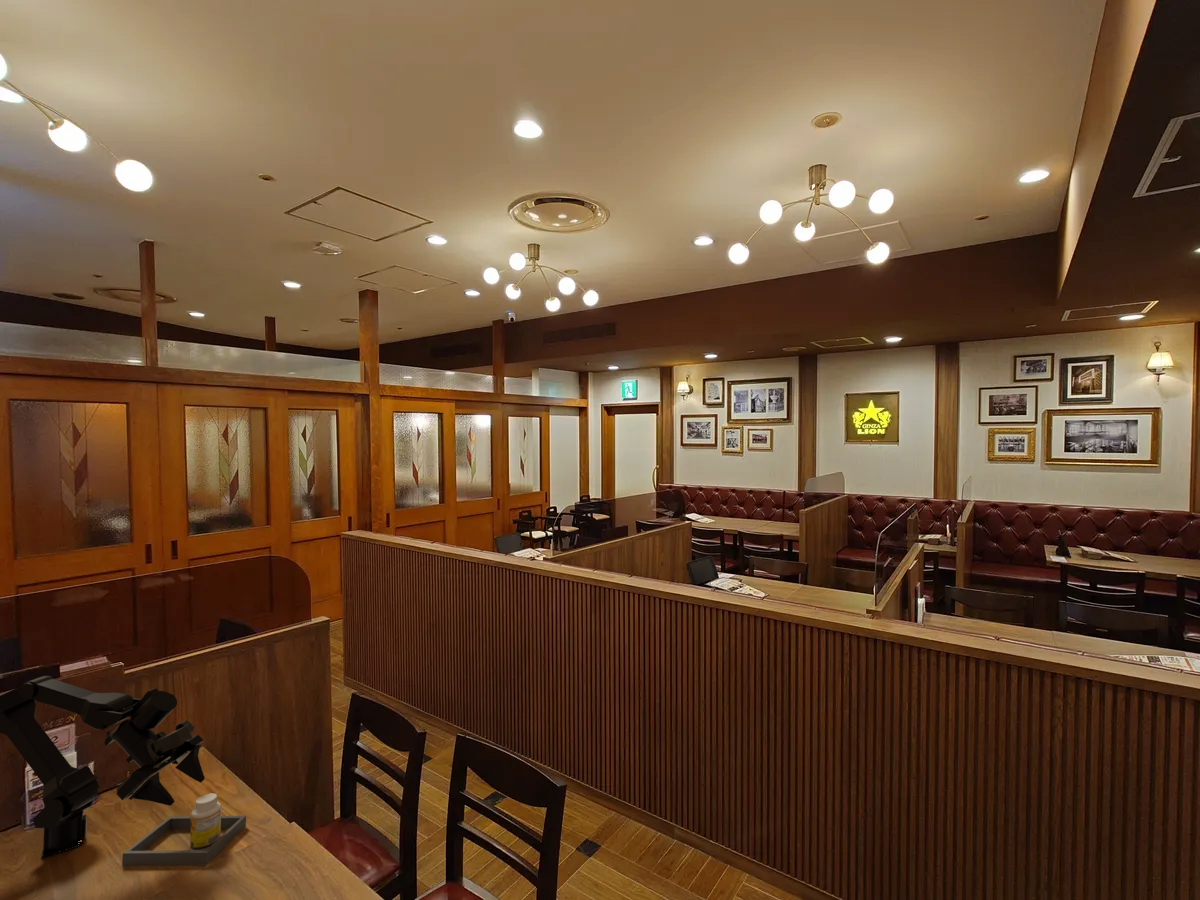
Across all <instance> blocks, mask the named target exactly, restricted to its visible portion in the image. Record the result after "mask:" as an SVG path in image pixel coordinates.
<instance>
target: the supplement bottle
mask: <svg viewBox="0 0 1200 900" xmlns="http://www.w3.org/2000/svg"><path fill="white" fill-rule="evenodd" d="M194 806H195V807H194V808H193V809H192V810H191V812H190V816H191V829H190V839H189V840H190V843H189V846H190V850H207V849H208V848H209V847H210V846H211V845H212V844H213V843H214V842H215V841H216V840H217V839H219V838H220V837H221V830H222V829H221V816H222V803H221V802H219V801H218V794H216V793H207V794H204V795H201V796H200V797H198V798H196V800H195V805H194Z"/></svg>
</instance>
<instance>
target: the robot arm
mask: <svg viewBox="0 0 1200 900" xmlns="http://www.w3.org/2000/svg"><path fill="white" fill-rule="evenodd" d="M37 702H38V703H42V704H44V705H45V704H46V705H48V706H51V707H54V708H56V709H60V710H64V711H66V712H69V713H73V714H77V716H79V717H80V719H81V721H82V722H83V723H84V724H86V725H87V726H89V727H91V728H93V729H95V730H97V731H103V730H106V729H108V728H111V727H112V726H114V725H116V724H118V723H119V725H118V726H117V727H114V728H112V729H110V730H108V731H107V732H105V734H106V736H105V739H104V744H103V745H104V746H108V745H110V744H112V743H114V742H116V744H117V745H119V746H120V748H121V749H122V750H124V752H125V753H126V754H127V755H128V757H127V758H126V759H125V761H126V762H127V763H128V764H130V763H132V762H135V763H136V765H138V767H139V768H138V769H136V770H134V771H132V772H130V774H129V775H128V777H126V779H124V780H123V782H121V784H119V786H118V787H117V788H116V796H118V797H119V799H121V801H122V802H124V801H126V799H127V798H128V800H130V801H132V800H134V799H135V800H140V801H141V800H143V801H148V802H153V803H156V804H161V805H166V806H172V805H173V804H174V803H175V802H176V801H175V799H174V798H173V796H172V795H171V794H170V792H169V791H168V790H167V789H166V788H165V787H164V785H163V784H162V783H161V780H160V771H162V770H163V769H165V768H166V767H168V766H169V765H172V764H173V765H176V766H175V769H177V770H178V771H180V772H181V773H183V774H184V775H186V776H188V777H189V778H191V779H193V780H194V781H197V782H199V783H203V782H204V781H205V778H206V777H205V774H204V772H203V768H202V766H201V762H200V758H199V754H200V750H201V748H202V744H203V742H204V741H205V739H203V737H201V736H200V734H192V733H194V732H195V726H194V725H193V723H191V722H190V721H189V720H184V721H182V722H180V723H179V724H177V725H176V726H175V730H174V731H172V732H170V733H168V734H167V733H166V732H165V731H159V732H158V733H156V731H155V730H154V728H156V727H158V726H159V725H160V724H161V723H162V722H163V720H165V719H166V718H167V717H168V715H170V714H171V713H172V712H173V710H174V709H175V708H176V707H177V705H178V700H177V697H176V696H175V695H174V694H173V693H170V692H169V691H168V692H167V691H165V690H159V689H157V687H154V688H152V689H149V690H148V691H146V692H145V694H144V695H143V697H142V698H137V697H135V698H134V697H133V696H131V695H130V694H127V693H121V692H103V693H102V692H94V691H93V690H90V689H86V688H82V687H79V686H76V685H74V684H70V683H67V682H64V681H61V680H57V679H55V678H54V677H53V676H51V675H42V676H40V677H37V678H34V679H31V680H28V681H26V682H24V684H21V685H20V686H18V687H15V688H13V689H11V690H8V691H5V692H2V693H0V734H3V735H6V736H7V739H9V740H10V741H11V743H12V745H13V746H14V748H15V749H16V750H17V751H18V753H20V755H21V757H22V758H23V759H24V760H25V761H26V764H27V765H28V766H29V768H30V769H31V770H32V771H33V773H34V774H35V775H36V777H37V778H38V779H39V781H40V782H41V783H42V785H43V791H42V799H41V800H42V802H43V804H44V807H43V808H42V809H41V810H39V812H38V813H37V814H36V815H35V816H34V817H33V818H32V821H33V825H34V827H35V829H43V840H42V841H43V842H42V850H41V851H42V852H41V855H40V857H41V858H46V857H50V856H52V854H53V855H55V854H54V853H56V854H59V853H60V852H59V851H62V852H64V851H63V850H66V849H69V848H72V847H75V846H78V845H80V844H82V845H83V841H82V842H78V841H80V840H82V839H83V840H84V839H85V838H86V836H87V823H88V821H87V819H88V818H87V817H88V816H87V814H84V810H86V809H88V808H90V807H92V805H93V803H94V800H95V798H96V797H97V796H98V792H99V789H100V784H99V782H98V779H99V777H98V776H96V774H94V773H93V772H92V770H91V768H90V766H88V765H84V766H82V767H81V768H76V767H74V766H72V765H71V764H70V763H69V761H68V760H67V759H66V757H65V756H64V755H63V753H62V752H61V751H60V749H59V748H58V747H57V746H56V744H55V743H54V741H53V740H52V739H51V738H50V736H49V735H48V734H47V732H46V731H45V730H44V728H43V727H42V726H41V725H40V723H39V722H38V720H37V719H36V712H37V711H36V709H37V704H36V703H37ZM128 718H129V719H128ZM120 722H121V723H120ZM78 843H80V844H78ZM78 847H79V846H78ZM75 848H76V847H75ZM72 849H73V848H72ZM69 850H70V849H69ZM66 851H67V850H66ZM58 852H59V853H58Z"/></svg>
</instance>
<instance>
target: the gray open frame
mask: <svg viewBox="0 0 1200 900" xmlns="http://www.w3.org/2000/svg"><path fill="white" fill-rule="evenodd" d="M246 827H247V815H221V830H226V831H225V832H224V833H223V834H222V835H220V838H219V839H217V840H216V841H215V842H214V843H213V844H212V845H211V846H210V847H209V848H208V849H207V850H191V849H189V850H188V849H187V850H183V849H182V850H181V849H180V850H178V849H177V850H176V849H175V850H147V849H148V848H150V847H151V846H152V845H153V844H155V843H156V842H157V841H159V840H160V839H161V838H162V837H164V836H165V835H166V834H167V833H168V832H170V831H172V830H191V815H189V816H188V815H187V816H186V815H184V816H182V815H181V816H168V817H167V818H166V819H165V820H164V821H162V822H161V823H160V824H159V825H157V826H156V827H155V828H153V829H152V830H151V831H150V832H148V833H146V835H144V836H143V837H142V838H140V839H139V840H138V841H136V842H135V843H134V844H132V845H131V846H130V847H129V848H128V849H126V850H125V851H124V852H123V853H122V858H121V859H122V860H121V861H122V862H121V863H122V864H121V866H123V867H124V866H125V867H126V866H131V867H132V866H133V867H134V866H207V865H208V864H209V863H210V862H211V861H213V859H215V857H217V856H218V854H220V853H221V852H222V851H223V850H224V849H225V848H226V847H227V846H228V845H229V844H230V843H231V842H232V841H233V840H234V839H235V838H236V837H237V836H238V835H239V834H240V833H241V832H242V831H244V829H245V828H246Z"/></svg>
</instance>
